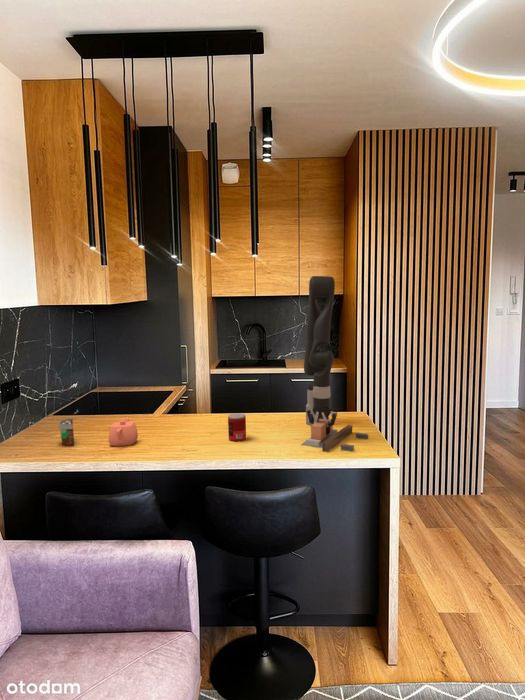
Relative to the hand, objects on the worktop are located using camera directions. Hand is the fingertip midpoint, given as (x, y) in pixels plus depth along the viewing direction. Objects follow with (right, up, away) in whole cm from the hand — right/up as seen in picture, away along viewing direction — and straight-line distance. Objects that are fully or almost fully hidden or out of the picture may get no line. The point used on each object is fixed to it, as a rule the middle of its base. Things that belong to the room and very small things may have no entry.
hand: (322, 433), depth 226 cm
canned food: (-37, -3, +3) cm, 38 cm away
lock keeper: (0, -2, 0) cm, 2 cm away
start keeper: (+13, -3, -7) cm, 15 cm away
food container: (-114, -5, +3) cm, 114 cm away
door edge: (+7, -3, -3) cm, 8 cm away
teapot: (-88, -5, +2) cm, 88 cm away
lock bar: (0, -1, 0) cm, 1 cm away
